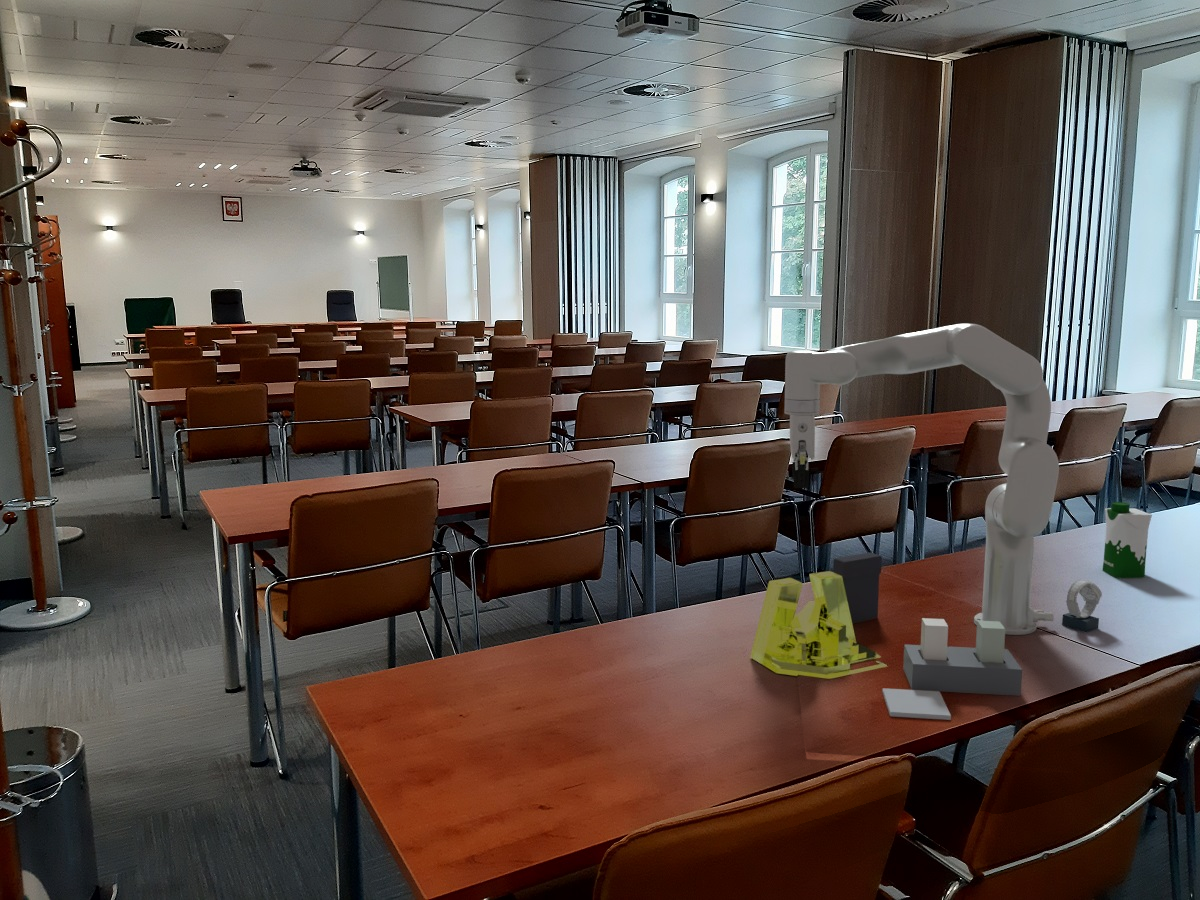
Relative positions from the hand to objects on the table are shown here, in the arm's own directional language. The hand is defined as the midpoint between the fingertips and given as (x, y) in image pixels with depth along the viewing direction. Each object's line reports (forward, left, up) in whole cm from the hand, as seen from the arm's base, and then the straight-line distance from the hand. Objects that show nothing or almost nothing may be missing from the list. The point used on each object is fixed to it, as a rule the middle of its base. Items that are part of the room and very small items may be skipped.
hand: (800, 483), depth 203 cm
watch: (-60, -1, -32) cm, 68 cm away
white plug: (-24, +32, -30) cm, 50 cm away
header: (-29, +32, -31) cm, 53 cm away
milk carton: (-84, -41, -32) cm, 99 cm away
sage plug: (-34, +32, -30) cm, 55 cm away
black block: (-13, 0, -32) cm, 34 cm away
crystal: (-4, +23, -32) cm, 40 cm away
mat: (-19, +44, -31) cm, 57 cm away
